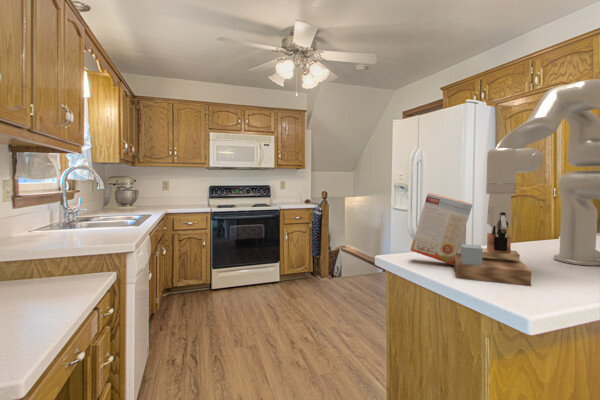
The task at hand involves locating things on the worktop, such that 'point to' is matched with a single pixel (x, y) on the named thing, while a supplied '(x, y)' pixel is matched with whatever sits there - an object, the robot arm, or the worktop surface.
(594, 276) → the worktop surface
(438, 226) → the cracker box
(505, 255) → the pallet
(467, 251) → the grey-blue cube
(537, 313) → the worktop surface
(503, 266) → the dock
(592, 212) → the robot arm
